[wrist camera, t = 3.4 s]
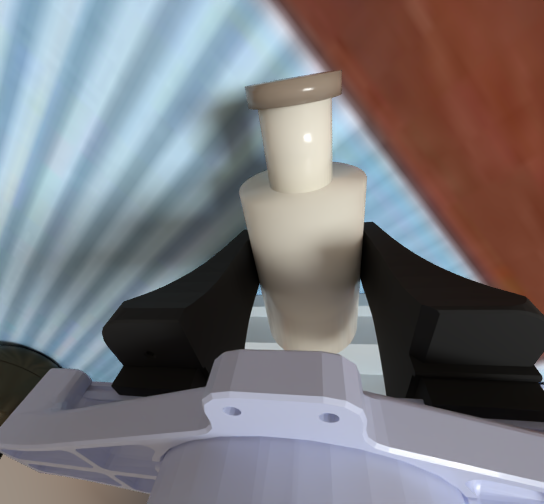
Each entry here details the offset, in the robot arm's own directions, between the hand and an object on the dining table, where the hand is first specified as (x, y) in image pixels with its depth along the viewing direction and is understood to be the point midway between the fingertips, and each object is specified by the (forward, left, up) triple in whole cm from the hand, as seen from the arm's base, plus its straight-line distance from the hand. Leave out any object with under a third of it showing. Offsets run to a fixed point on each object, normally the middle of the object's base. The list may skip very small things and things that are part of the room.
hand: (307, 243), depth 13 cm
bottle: (0, -1, -1) cm, 2 cm away
